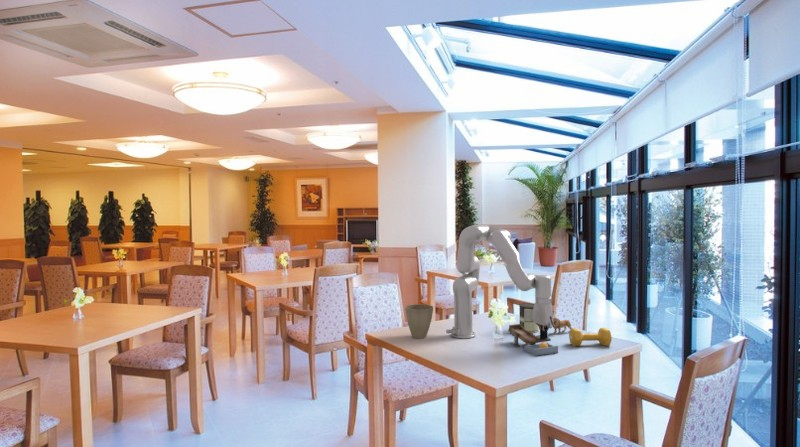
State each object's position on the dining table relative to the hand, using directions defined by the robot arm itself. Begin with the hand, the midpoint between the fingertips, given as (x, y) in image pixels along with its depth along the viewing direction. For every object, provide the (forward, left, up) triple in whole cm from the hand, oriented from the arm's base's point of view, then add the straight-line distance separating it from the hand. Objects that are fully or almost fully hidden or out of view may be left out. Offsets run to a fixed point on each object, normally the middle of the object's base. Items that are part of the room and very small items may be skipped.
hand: (543, 338), depth 231 cm
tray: (-7, -7, -4) cm, 10 cm away
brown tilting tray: (-4, +7, -1) cm, 8 cm away
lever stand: (-7, +6, -4) cm, 10 cm away
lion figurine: (+25, +16, -4) cm, 30 cm away
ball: (-7, -8, -1) cm, 11 cm away
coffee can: (+13, +28, -4) cm, 31 cm away
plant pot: (-47, +42, -4) cm, 63 cm away
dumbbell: (+22, -8, -4) cm, 24 cm away
